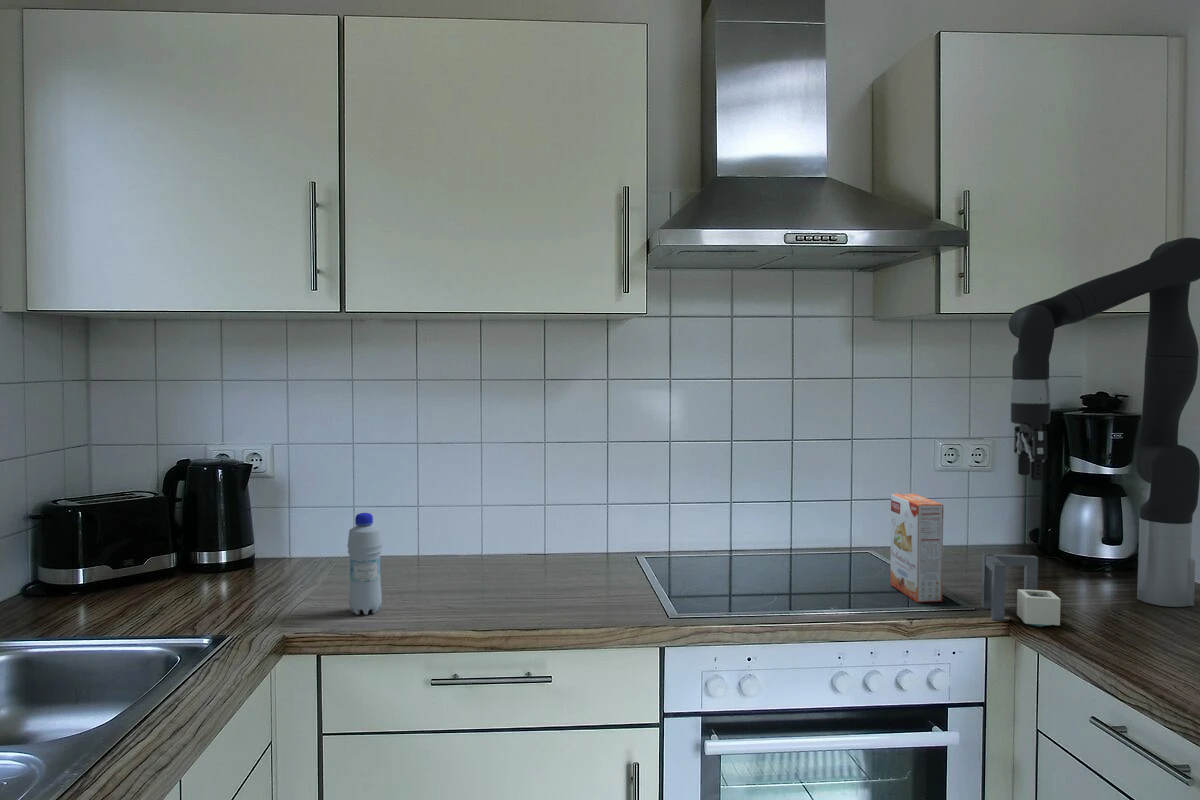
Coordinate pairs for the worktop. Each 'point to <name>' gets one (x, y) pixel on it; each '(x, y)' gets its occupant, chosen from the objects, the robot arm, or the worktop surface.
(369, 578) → the bottle
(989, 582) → the rail
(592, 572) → the worktop surface
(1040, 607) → the white square tube
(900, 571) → the cracker box
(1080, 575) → the worktop surface
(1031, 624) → the peg
